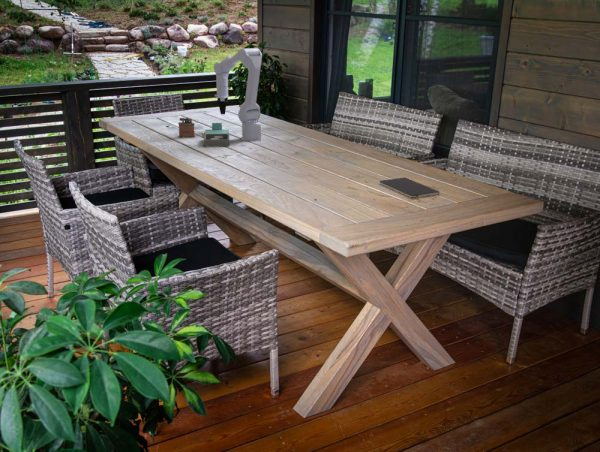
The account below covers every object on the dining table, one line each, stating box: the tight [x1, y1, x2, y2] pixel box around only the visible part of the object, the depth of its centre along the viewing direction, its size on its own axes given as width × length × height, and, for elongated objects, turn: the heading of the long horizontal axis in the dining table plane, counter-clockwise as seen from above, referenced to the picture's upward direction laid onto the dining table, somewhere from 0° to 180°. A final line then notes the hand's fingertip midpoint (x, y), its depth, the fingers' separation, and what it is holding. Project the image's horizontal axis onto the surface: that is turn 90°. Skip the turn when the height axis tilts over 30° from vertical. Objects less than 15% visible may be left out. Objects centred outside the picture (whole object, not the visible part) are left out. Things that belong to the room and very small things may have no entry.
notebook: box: [379, 177, 440, 198], centre depth 244 cm, size 13×2×21 cm
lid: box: [204, 122, 230, 135], centre depth 325 cm, size 12×14×5 cm
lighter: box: [178, 117, 196, 139], centre depth 319 cm, size 8×3×10 cm, turn 84°
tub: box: [203, 133, 230, 147], centre depth 308 cm, size 12×14×4 cm
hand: (222, 113), depth 332 cm, fingers open, 7 cm apart
